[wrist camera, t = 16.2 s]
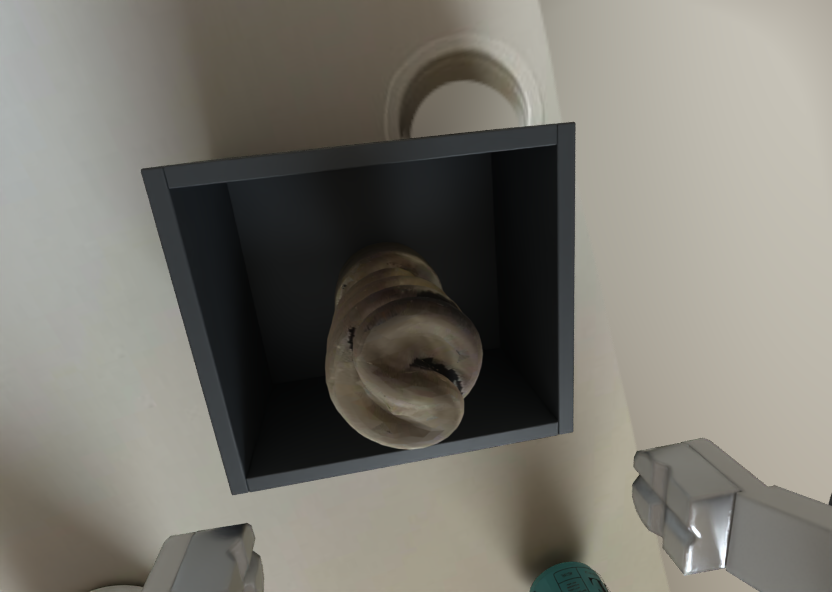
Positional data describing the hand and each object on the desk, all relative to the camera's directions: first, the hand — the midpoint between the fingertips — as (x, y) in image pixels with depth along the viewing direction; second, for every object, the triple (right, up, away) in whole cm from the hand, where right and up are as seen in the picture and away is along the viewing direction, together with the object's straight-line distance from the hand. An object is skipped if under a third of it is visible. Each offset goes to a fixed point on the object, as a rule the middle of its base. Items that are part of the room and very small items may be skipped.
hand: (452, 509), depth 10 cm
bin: (-3, +6, +20) cm, 21 cm away
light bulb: (-3, +6, +19) cm, 20 cm away
